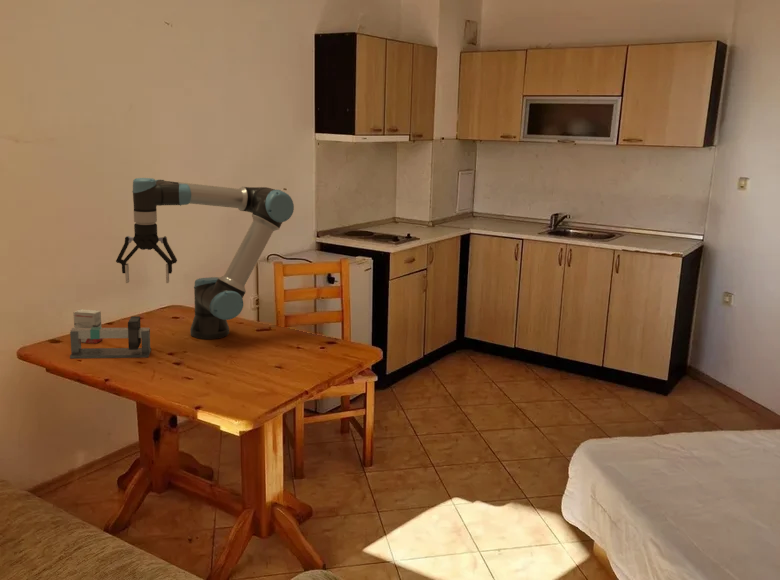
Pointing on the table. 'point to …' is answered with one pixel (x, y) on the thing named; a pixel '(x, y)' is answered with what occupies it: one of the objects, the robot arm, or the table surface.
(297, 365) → the table surface
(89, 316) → the ink box
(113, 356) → the pipe rail
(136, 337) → the ring collar
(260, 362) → the table surface
